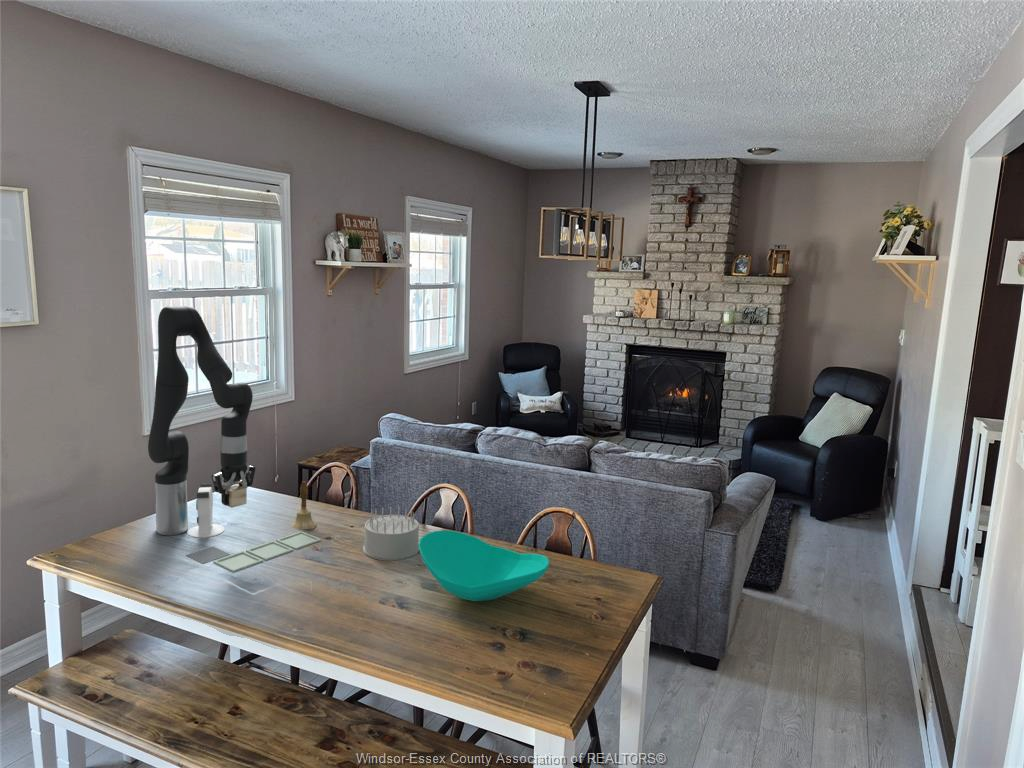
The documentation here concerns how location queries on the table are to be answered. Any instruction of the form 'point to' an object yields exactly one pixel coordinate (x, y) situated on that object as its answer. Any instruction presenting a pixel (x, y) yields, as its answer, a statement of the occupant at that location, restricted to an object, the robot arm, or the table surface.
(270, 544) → the tray
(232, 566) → the tray
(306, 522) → the hand bell
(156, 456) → the robot arm
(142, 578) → the table surface
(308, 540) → the tray
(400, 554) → the cake
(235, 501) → the letter cube
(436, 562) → the table top decor
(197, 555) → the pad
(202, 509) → the white post on base
